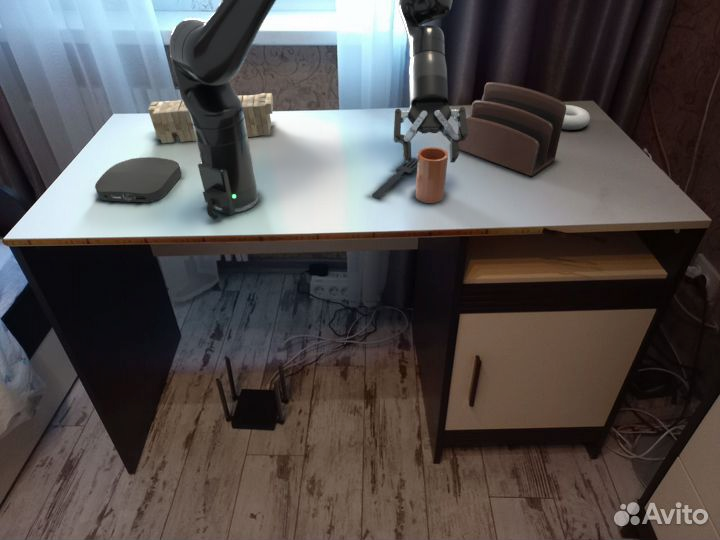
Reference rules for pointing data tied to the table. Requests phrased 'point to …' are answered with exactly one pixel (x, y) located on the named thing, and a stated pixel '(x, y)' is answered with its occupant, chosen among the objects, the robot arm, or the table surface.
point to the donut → (575, 118)
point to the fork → (396, 177)
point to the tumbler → (431, 174)
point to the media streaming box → (138, 180)
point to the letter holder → (514, 127)
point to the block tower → (177, 120)
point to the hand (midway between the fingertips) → (431, 161)
